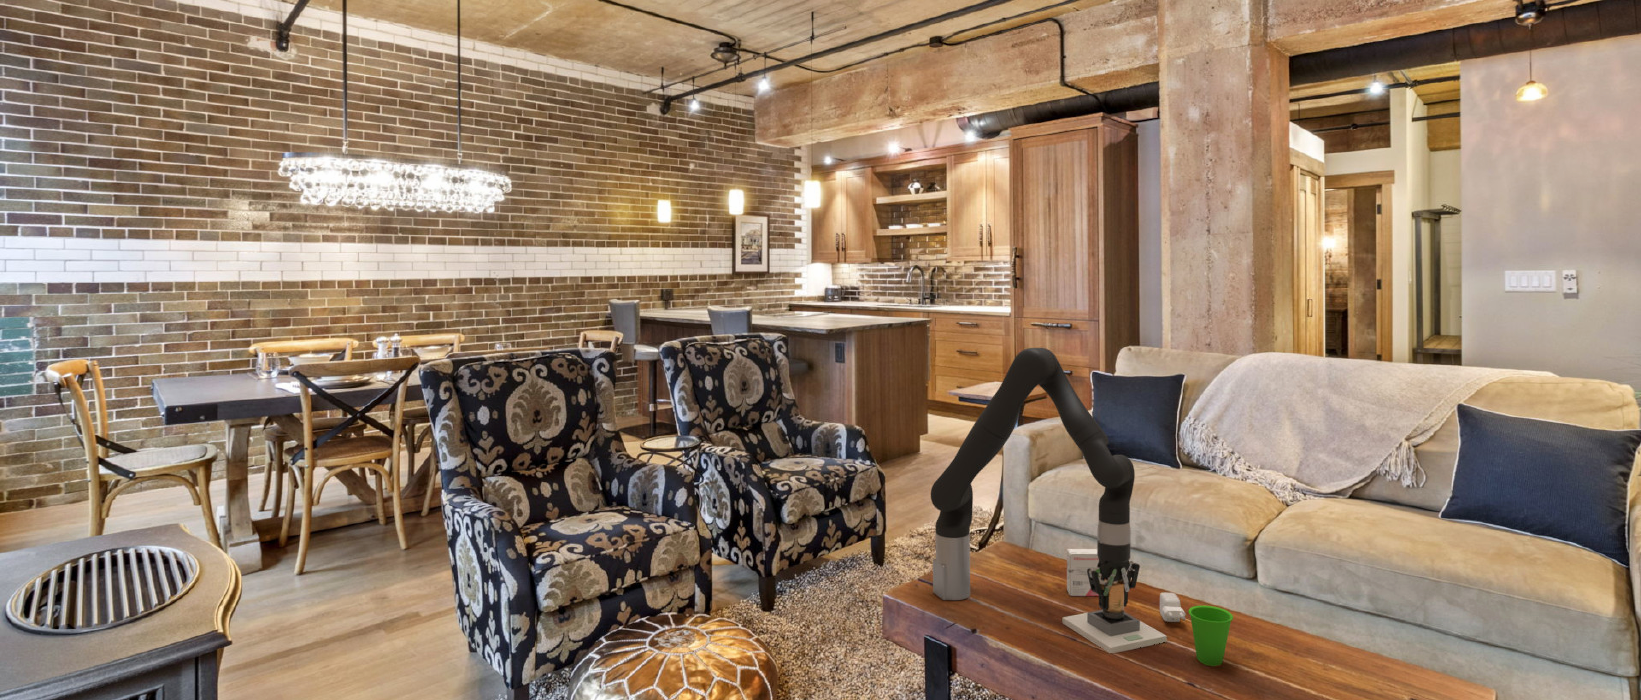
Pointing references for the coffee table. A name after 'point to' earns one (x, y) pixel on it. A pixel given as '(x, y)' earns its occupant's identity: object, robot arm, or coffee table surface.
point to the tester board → (1114, 631)
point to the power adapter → (1171, 608)
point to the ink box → (1080, 571)
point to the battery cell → (1115, 603)
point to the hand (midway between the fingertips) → (1113, 607)
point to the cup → (1210, 633)
